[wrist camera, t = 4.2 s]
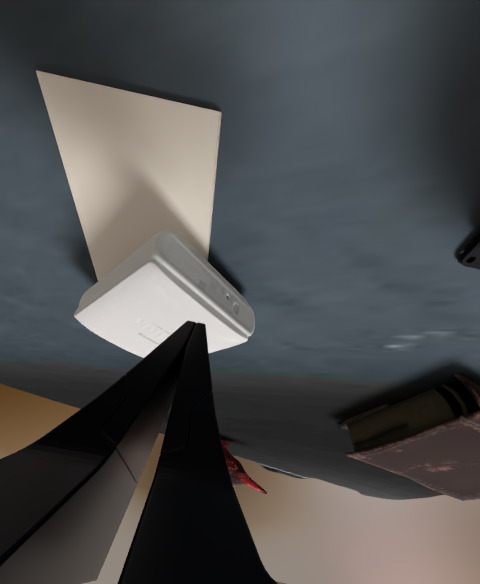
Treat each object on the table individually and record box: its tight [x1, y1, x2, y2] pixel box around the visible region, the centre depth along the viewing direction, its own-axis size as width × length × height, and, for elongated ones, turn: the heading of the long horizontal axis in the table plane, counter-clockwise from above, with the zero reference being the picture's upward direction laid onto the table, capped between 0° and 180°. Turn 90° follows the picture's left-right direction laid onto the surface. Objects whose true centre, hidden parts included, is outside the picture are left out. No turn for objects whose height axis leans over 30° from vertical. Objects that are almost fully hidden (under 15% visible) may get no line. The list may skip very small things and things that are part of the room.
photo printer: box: [74, 230, 255, 358], centre depth 17 cm, size 10×4×12 cm
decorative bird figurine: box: [221, 440, 267, 494], centre depth 37 cm, size 3×18×10 cm, turn 63°
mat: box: [36, 70, 222, 281], centre depth 16 cm, size 10×16×1 cm, turn 170°
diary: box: [339, 374, 480, 501], centre depth 28 cm, size 19×25×5 cm
